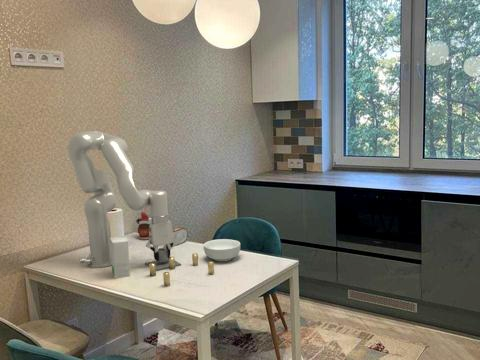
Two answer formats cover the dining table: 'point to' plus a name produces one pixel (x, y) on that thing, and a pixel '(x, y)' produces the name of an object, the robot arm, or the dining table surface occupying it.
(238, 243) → the cereal bowl
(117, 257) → the skincare box
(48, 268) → the dining table surface
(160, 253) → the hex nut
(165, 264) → the mat
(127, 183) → the robot arm
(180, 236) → the tin
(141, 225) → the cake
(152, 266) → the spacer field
